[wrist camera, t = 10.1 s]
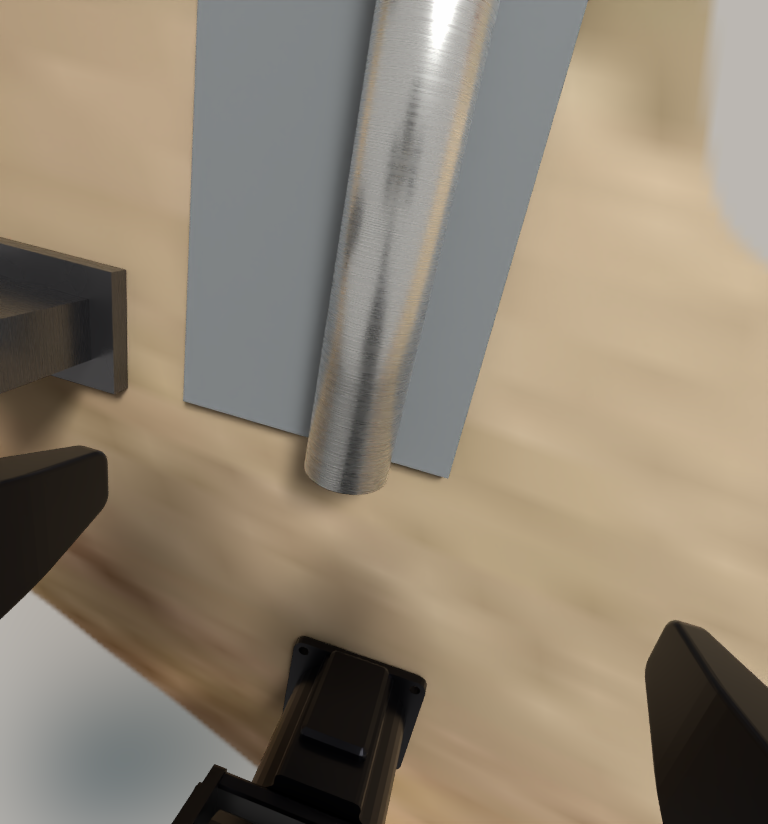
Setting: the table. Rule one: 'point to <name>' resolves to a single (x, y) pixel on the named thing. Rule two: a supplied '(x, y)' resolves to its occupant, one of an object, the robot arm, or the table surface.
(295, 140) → the grey plate
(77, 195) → the table surface
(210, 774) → the robot arm
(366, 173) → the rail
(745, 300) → the table surface
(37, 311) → the dark grey notched cradle
